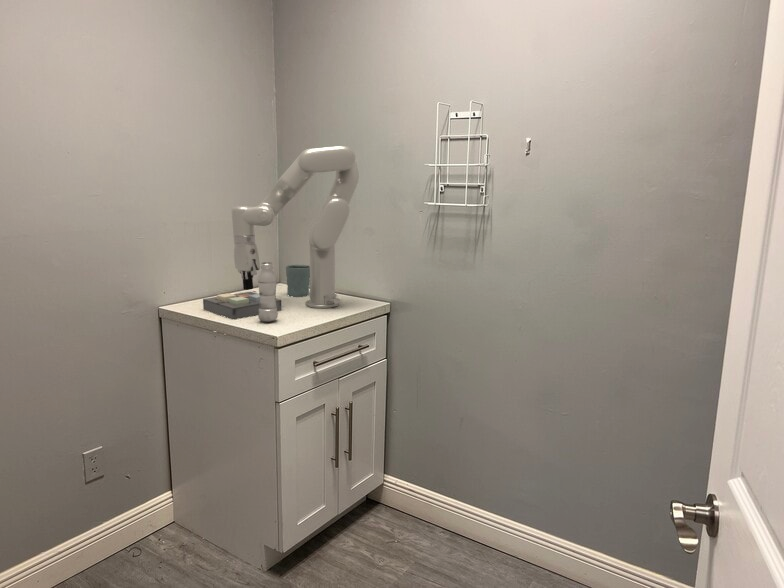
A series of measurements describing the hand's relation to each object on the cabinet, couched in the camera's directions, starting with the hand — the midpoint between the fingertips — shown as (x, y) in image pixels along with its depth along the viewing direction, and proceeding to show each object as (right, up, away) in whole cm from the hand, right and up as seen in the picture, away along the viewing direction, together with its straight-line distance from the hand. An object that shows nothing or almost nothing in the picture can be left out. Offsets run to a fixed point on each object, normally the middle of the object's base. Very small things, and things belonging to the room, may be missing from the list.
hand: (248, 289), depth 217 cm
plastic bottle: (+12, -11, -20) cm, 26 cm away
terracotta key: (-1, -5, +1) cm, 5 cm away
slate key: (+5, -5, -5) cm, 8 cm away
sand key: (-7, -5, -5) cm, 10 cm away
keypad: (-1, -8, -4) cm, 9 cm away
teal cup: (+15, -2, +24) cm, 28 cm away
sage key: (-1, -6, -11) cm, 12 cm away
